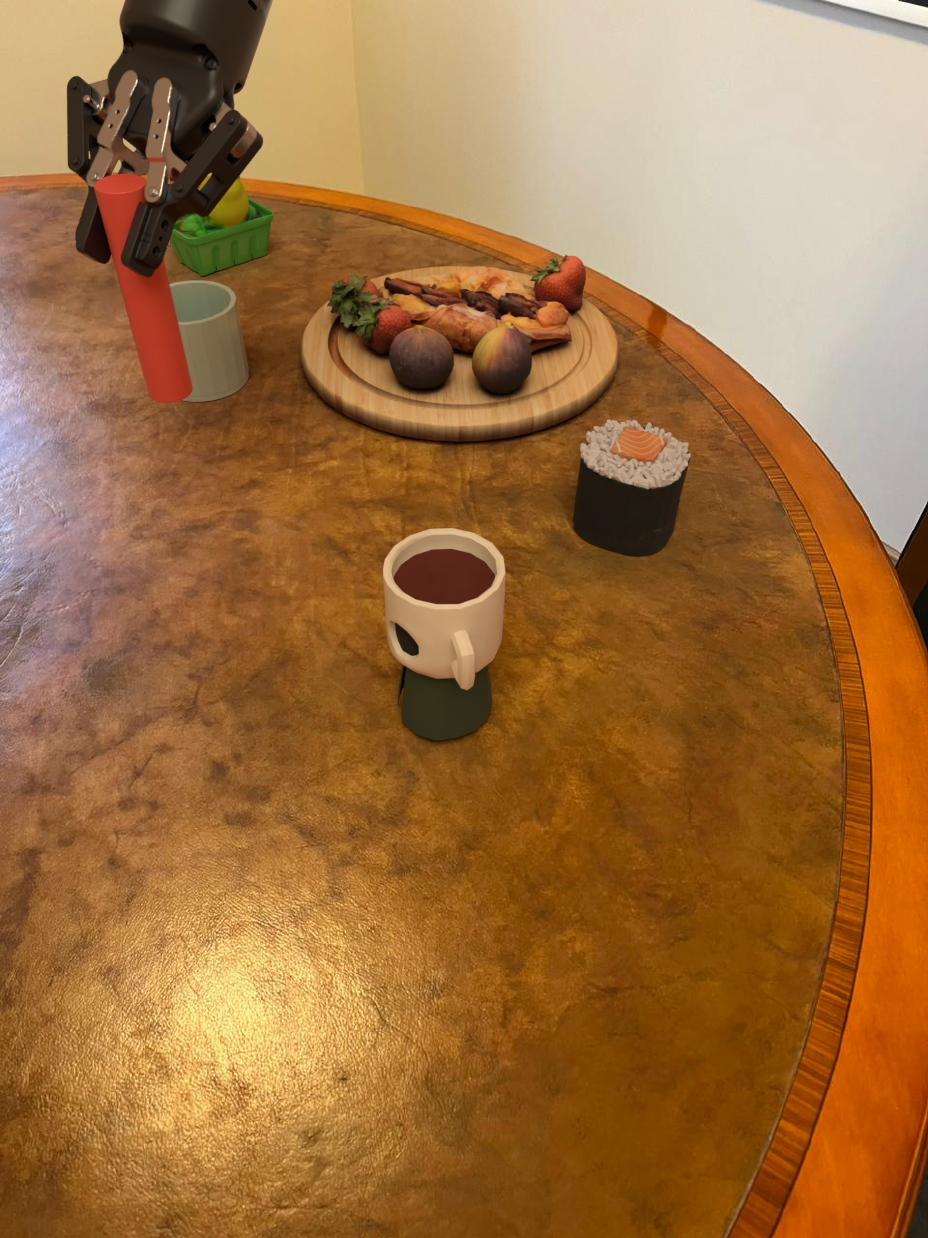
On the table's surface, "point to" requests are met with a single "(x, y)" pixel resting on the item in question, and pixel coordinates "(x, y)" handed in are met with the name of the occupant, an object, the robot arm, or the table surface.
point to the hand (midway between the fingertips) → (113, 263)
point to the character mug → (444, 627)
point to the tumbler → (210, 338)
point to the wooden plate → (461, 350)
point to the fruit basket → (223, 233)
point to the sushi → (629, 487)
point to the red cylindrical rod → (144, 295)
